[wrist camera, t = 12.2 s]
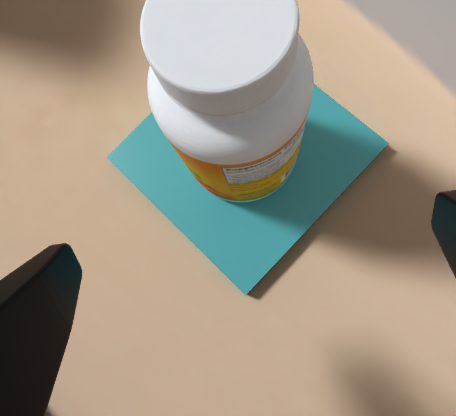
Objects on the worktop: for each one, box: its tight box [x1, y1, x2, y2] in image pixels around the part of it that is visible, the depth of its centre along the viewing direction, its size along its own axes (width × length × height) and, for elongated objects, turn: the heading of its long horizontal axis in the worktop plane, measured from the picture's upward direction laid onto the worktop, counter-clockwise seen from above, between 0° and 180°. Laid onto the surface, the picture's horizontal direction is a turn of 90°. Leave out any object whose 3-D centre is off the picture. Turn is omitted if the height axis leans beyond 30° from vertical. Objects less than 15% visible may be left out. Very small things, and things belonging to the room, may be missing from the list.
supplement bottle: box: [140, 0, 314, 202], centre depth 14 cm, size 5×5×10 cm
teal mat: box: [107, 84, 388, 295], centre depth 19 cm, size 10×10×1 cm
